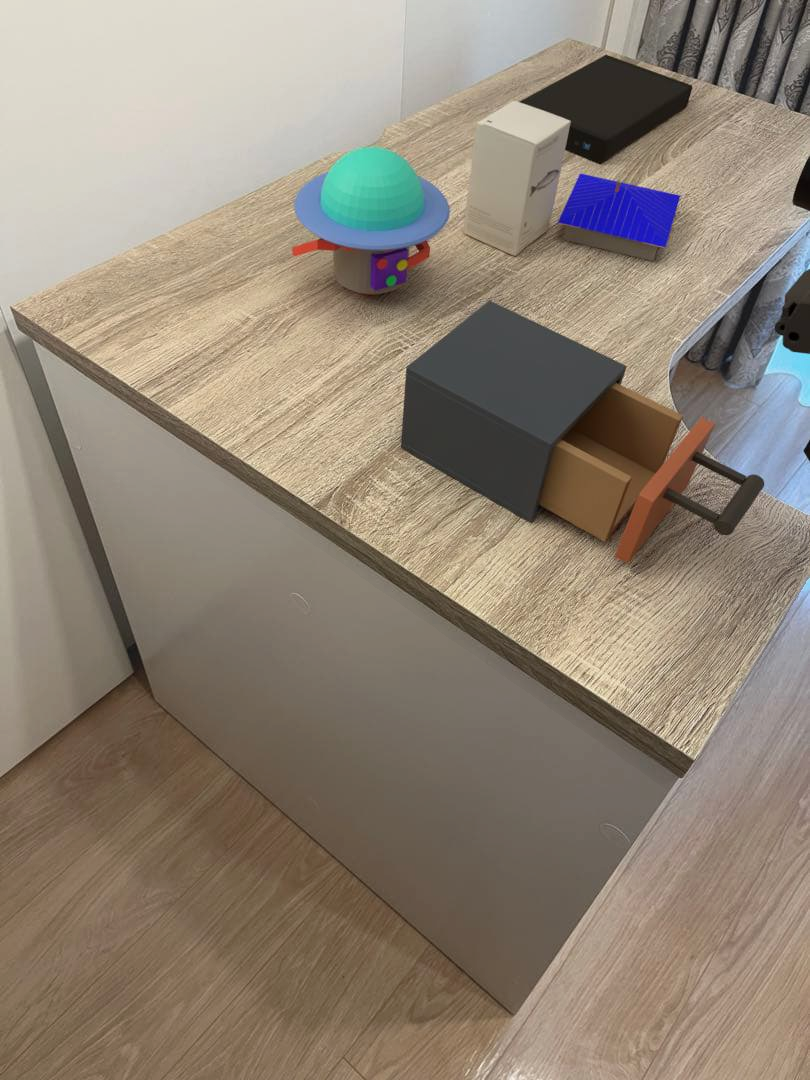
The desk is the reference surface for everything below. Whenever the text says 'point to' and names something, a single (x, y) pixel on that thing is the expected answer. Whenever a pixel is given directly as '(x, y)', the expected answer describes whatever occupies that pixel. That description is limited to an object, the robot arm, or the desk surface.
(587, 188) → the roof
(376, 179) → the toy robot
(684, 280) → the desk surface
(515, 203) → the white packaging box
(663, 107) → the external hard drive
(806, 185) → the robot arm
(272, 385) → the desk surface
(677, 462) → the drawer
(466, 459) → the cabinet
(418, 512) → the desk surface
